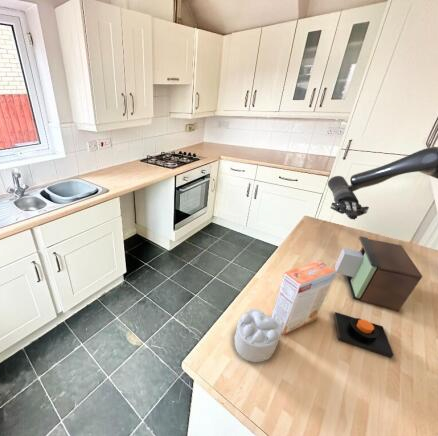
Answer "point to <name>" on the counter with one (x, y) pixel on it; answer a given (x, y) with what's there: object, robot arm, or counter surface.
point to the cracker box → (302, 295)
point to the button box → (362, 335)
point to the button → (365, 326)
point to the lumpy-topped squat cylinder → (257, 336)
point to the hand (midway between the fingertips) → (353, 217)
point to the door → (355, 269)
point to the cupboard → (387, 275)
